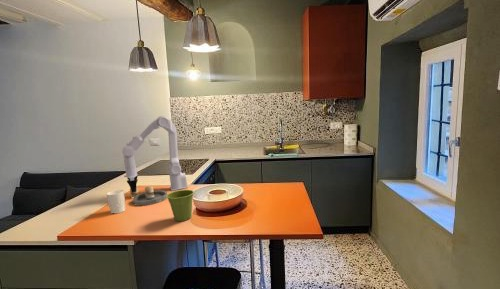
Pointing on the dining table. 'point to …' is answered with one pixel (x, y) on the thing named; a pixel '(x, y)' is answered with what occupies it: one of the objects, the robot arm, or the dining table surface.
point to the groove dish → (148, 202)
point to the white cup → (116, 201)
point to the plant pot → (181, 204)
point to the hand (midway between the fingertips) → (134, 190)
